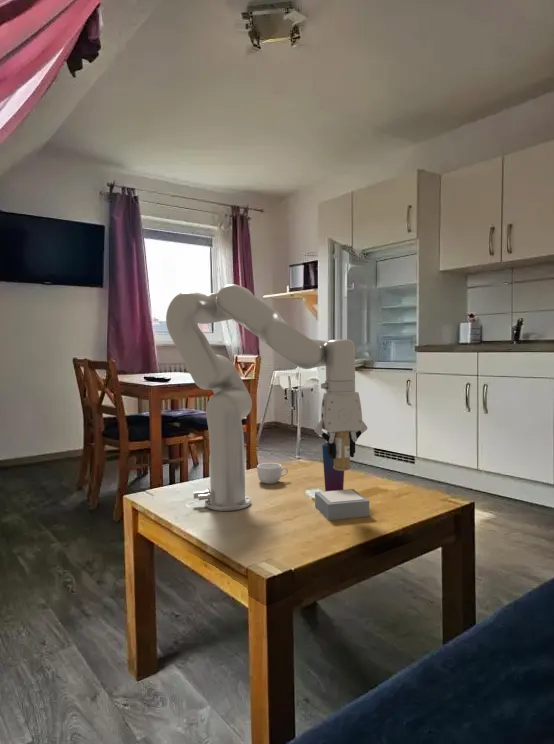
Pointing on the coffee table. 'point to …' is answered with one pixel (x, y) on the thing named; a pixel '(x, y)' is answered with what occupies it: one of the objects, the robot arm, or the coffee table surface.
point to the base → (341, 504)
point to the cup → (331, 472)
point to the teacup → (270, 472)
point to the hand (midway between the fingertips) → (341, 456)
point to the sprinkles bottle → (342, 451)
